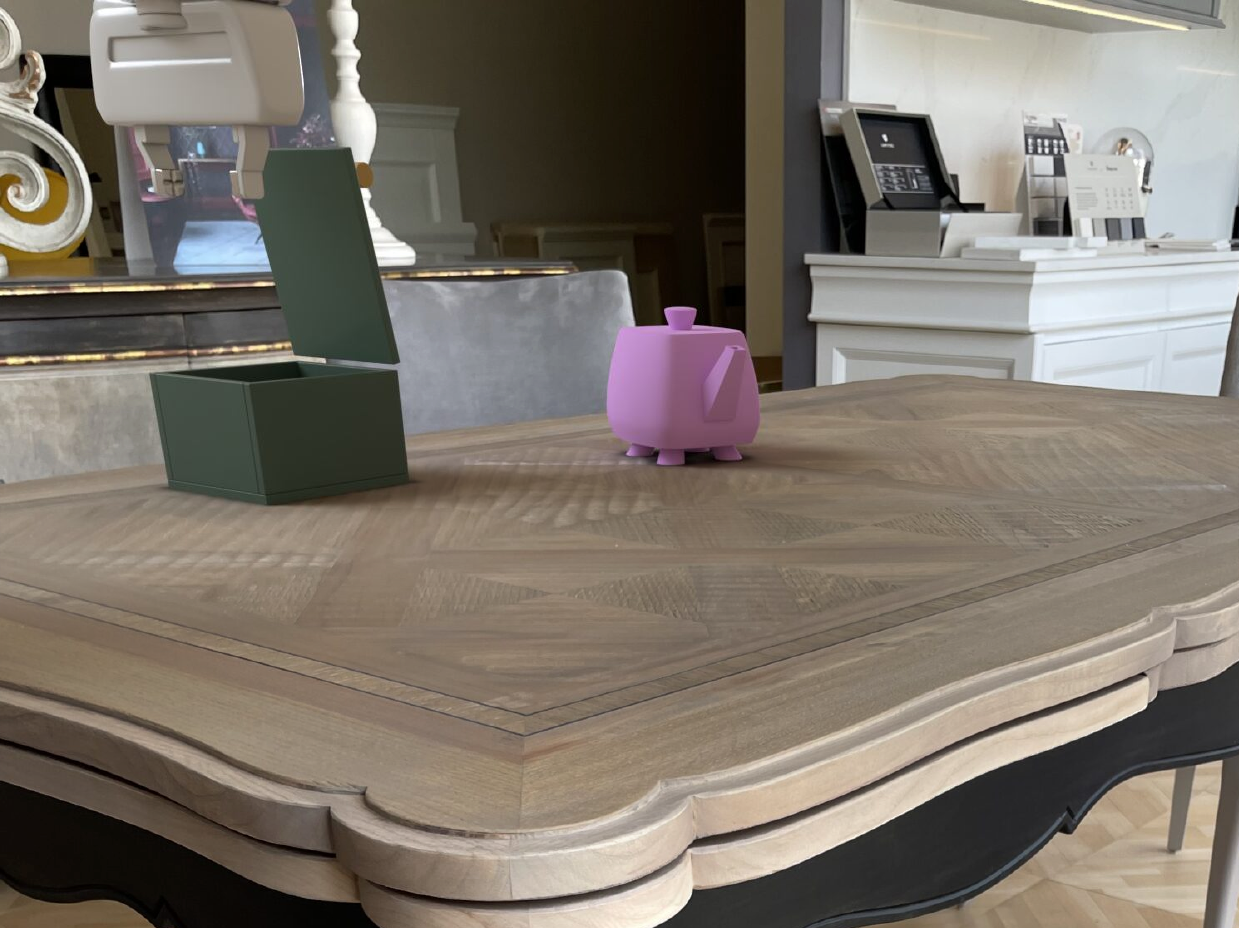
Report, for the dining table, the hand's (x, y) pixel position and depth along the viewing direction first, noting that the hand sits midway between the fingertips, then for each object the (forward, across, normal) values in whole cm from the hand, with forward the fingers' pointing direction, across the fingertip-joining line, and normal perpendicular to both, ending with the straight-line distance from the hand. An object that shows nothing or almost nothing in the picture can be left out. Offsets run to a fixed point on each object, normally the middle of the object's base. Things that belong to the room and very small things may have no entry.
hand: (208, 197), depth 117 cm
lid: (+4, 0, +9) cm, 10 cm away
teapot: (+20, +15, +38) cm, 45 cm away
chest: (+21, 0, +4) cm, 21 cm away
